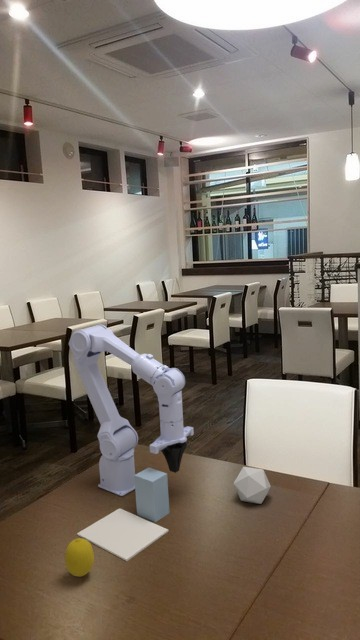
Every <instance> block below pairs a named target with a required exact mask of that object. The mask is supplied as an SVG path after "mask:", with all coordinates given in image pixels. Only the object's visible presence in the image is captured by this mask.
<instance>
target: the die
mask: <svg viewBox="0 0 360 640" xmlns="http://www.w3.org/2000/svg"><path fill="white" fill-rule="evenodd" d="M269 481H270V480H269V479H268V477H267V474H266V471H265V470H264V469H262V468H255V467H248V466H243V467H242V468H241V470H240V472H239V474H238V475H237V477H236V478H235V480H234V482H233V486H234V488H235V490H236V492H237V495H238V497H239V499H240V501H241V502H247V503H252V504H257V505H258V504H260V505H262V503H263V502H264V500H265V498H266V496H267V495H268V493H269V491H270V489H271V487H272V486H271V484H270V482H269Z"/></svg>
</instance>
